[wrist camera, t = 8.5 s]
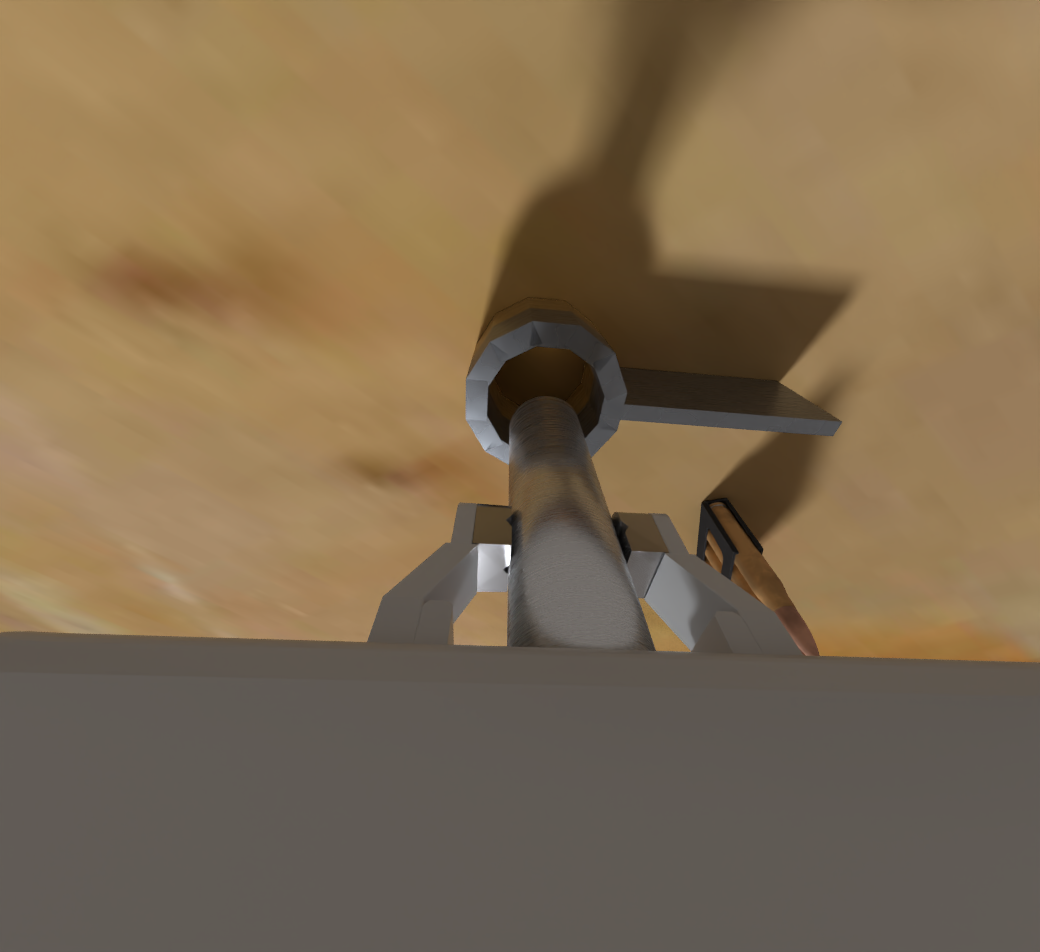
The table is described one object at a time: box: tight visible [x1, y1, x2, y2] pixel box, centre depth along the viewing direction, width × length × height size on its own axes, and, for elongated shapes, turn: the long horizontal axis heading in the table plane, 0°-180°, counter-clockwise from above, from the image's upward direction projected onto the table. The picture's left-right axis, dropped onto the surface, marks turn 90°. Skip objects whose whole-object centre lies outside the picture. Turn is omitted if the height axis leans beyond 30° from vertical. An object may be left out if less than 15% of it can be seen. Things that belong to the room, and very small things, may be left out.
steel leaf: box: [466, 308, 842, 465], centre depth 20 cm, size 18×7×6 cm, turn 85°
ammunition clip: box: [697, 498, 819, 656], centre depth 26 cm, size 11×2×12 cm, turn 12°
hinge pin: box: [507, 396, 656, 651], centre depth 11 cm, size 3×3×12 cm
